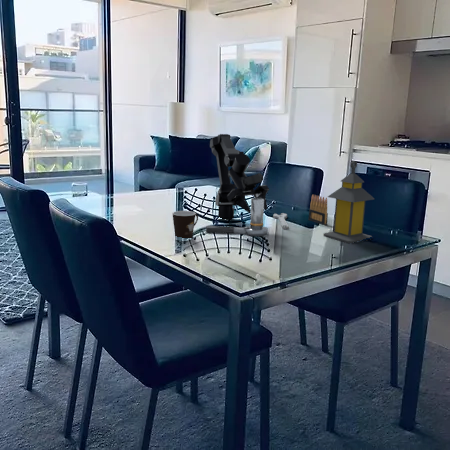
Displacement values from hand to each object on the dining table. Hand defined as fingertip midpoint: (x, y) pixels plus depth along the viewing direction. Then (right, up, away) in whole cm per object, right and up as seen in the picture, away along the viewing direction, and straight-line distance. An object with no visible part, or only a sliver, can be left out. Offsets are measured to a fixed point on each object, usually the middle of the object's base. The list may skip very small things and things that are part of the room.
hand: (258, 210), depth 195 cm
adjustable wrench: (+11, -5, +24) cm, 27 cm away
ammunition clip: (+28, -5, +24) cm, 37 cm away
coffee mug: (-27, -11, -8) cm, 30 cm away
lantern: (+35, -11, 0) cm, 37 cm away
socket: (-1, -7, +2) cm, 7 cm away
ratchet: (-8, -9, +3) cm, 12 cm away
